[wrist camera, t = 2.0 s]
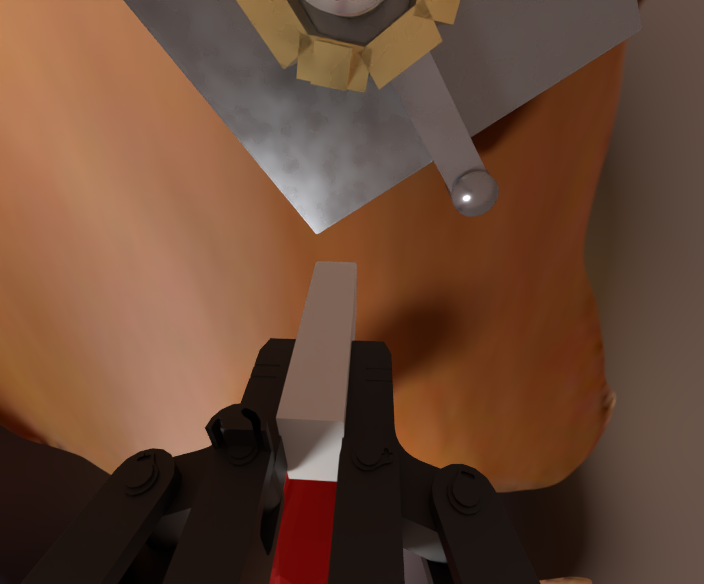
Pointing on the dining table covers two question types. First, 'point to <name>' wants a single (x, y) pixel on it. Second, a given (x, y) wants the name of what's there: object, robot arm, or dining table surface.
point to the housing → (373, 84)
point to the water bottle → (305, 533)
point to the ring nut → (388, 66)
